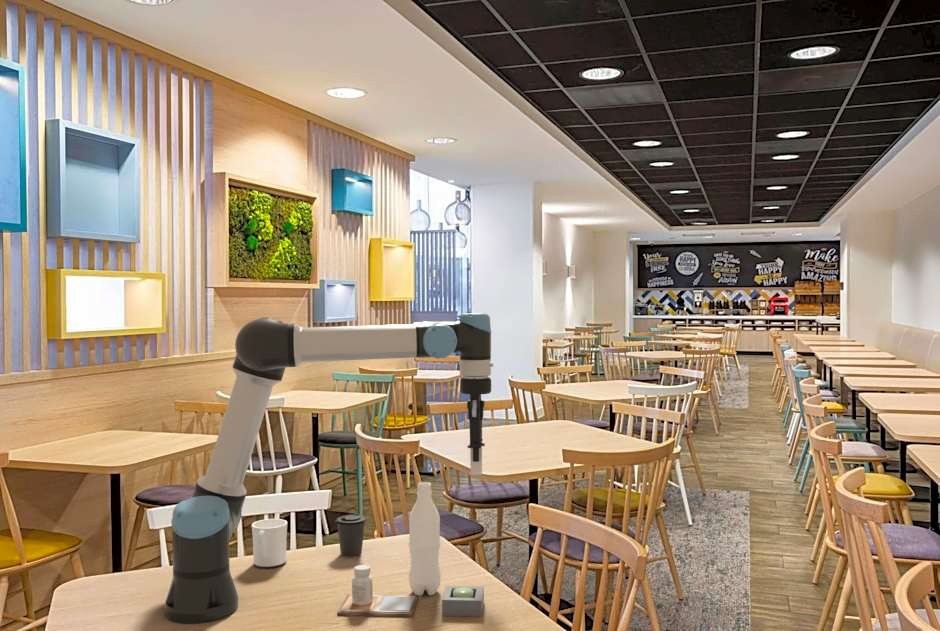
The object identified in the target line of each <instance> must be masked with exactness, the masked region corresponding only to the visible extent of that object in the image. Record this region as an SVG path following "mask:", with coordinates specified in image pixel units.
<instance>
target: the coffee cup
mask: <svg viewBox="0 0 940 631" xmlns="http://www.w3.org/2000/svg"><path fill="white" fill-rule="evenodd" d="M334 522H335V524H336V525H337V532H338V541H339V550H340V555H341V556H342V557H344V558H345V557H346V558H356V557H359V556H361V555H362V552H363V551H362V550H363V541H364V531H365V523H366V522H367V519H366V517H365V516H364V515H358V514H344V515H342V516H339V517H337V518H336V519H335V521H334Z"/></svg>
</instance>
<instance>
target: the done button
mask: <svg viewBox="0 0 940 631" xmlns="http://www.w3.org/2000/svg"><path fill="white" fill-rule="evenodd" d="M453 597H454V598H473V590H472V589H470V588H457V589H454V590H453Z"/></svg>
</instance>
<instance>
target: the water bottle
mask: <svg viewBox="0 0 940 631" xmlns="http://www.w3.org/2000/svg"><path fill="white" fill-rule="evenodd" d="M416 491H417V492H416V495H417V498H416V501H415V503H414V505H413V507H412V510H411V511H410V514H409V517H408V523H409V527H408V529H409V530H408V532H409V533H408V534H409V536H408V537H409V538H408V540H409V541H408V548H409V552H410V569H409V573H408V577H409V578H408V581H409V582H408V583H409V587H410V589H411V591H412V592H413V593H414V594H415V596H418V597H422V596H423V595H424V592H425V591H426V593H427V594H428V596H432V595H435V594H436V593H437V591H438V589H439V588H440V586H441V571H440V567H439V566H440V565H439V553H440V547H441V541H440V540H441V536H440V535H441V531H440V530H441V529H440V528H441V527H440V526H441V525H440V524H441V516H440V514H439V510H438V508H437V507H436V505H435V503H434V500H433V499H432V498H433V497H432V494H433V492H432V483H431V482H427V481H421V482H418V483H417V490H416Z"/></svg>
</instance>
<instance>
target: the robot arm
mask: <svg viewBox="0 0 940 631" xmlns="http://www.w3.org/2000/svg"><path fill="white" fill-rule="evenodd" d="M234 345H235V353H236V354H235V357H234V361H233V365H232V367H231V368H232V370H233V372H234V374H235V376H236V377H235V381H234V384H233V387H232V390H231V393H230V396H229V399H228V403H227V407H226V410H225V412H224V416H223V420H222V422H221V425H220V429H219V432H218V435H217V438H216V441H215V444H214V445H215V446H214V447H213V450H212V455H211V458H210V460H209V465H208V467H207V471H206V474H205V475H203V476H200V477H199V478H198V479H197V480H196V483H195V487H194V489H193V492H192V497H190V498H187V499H184V500H182V501H180V502H178V503H177V504H176V505H175V506H174V508H173V510H172V515H171V516H172V517H171V528H172V580H171V583H170V586H169V590H168V593H167V595H166V599H165V601H164V616H165V618H167V619H168V620H170V621H172V622H176V623H182V624H183V623H186V624H195V623H204V622H211V621H215V620H218V619H219V620H220V619H222V618H224V617H227V616H230V615H231V614H233V613H234V612H235V611H237V609H239V608H238V607H239V594H238V592H237V589H236V585H235V582H234V579H233V577H232V574H231V572H230V571H231V570H230V539H231V537H232V536H233V533H234V532H235V530H236V529H237V528H238V527H239V524H240V522H241V518H242V511H243V508H244V503H245V500H246V495H247V492H248V490H247V489H246V487H245V486H244V481H245V477H246V474H247V471H248V467H249V464H250V461H251V458H252V455H253V451H254V448H255V446H256V441H257V438H258V435H259V432H260V429H261V425H262V422H263V419H264V417H265V413H266V410H267V406H268V403H269V400H270V397H271V393H272V391H273V387H274V386H275V385H277V384H279V383H281V382H282V379H283V377H284V374H285V372H286V368H297V367H298V368H299V366H300V365H302V363H313V362H335V361H336V362H339V361H361V360H362V361H365V360H386V359H387V360H388V359H389V360H391V359H416V358H418V359H420V358H422V359H423V358H425V359H426V358H434V359H445V358H448V357H450V356H451V355H452V354H453V353H454V354H456V353H459V375H460V377H461V378H459V387H460V389H459V392H460V393H461V394H463V395H470V396H469V399H468V400H467V402H466V404H467V405H466V408H467V410H468V411H467V412H468V415H467V416H468V417H467V418H468V420H469V421H468V422H469V444H468V445H467V449H470V450H469V451H470V453H469V454H470V456H469V457H470V458H469V459H470V475H471V476H472V475H473V476H474V475H475V476H476V475H477V476H483V447H485V444H486V443H483V418H484V407H485V399H482V395H488V394H490V393H491V392H492V379H491V377H489V376H490V375H492V368H494V363H493V362H491V360H492V359H491V358H492V330H491V317H490V314H487V313H485V312H475V313H474V312H470V313H469V312H468V313H467V312H465V313H463V312H462V313H460V315H459V319H458V320H457V321H417V322H412V323H411V324H385V325H384V324H383V325H377V324H376V325H352V326H351V325H350V326H317V327H315V326H313V327H302V326H300V324H298V323H294V322H293V323H284V322H283V321H281V320H279V319H277V318H275V317H274V318H273V317H260V318H258V319H255V320H252V321H249V322H248V323H246V324H245V325H243V327H242V328H240V330H239V332H238V333H237V336H236V338H235V344H234Z"/></svg>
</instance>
